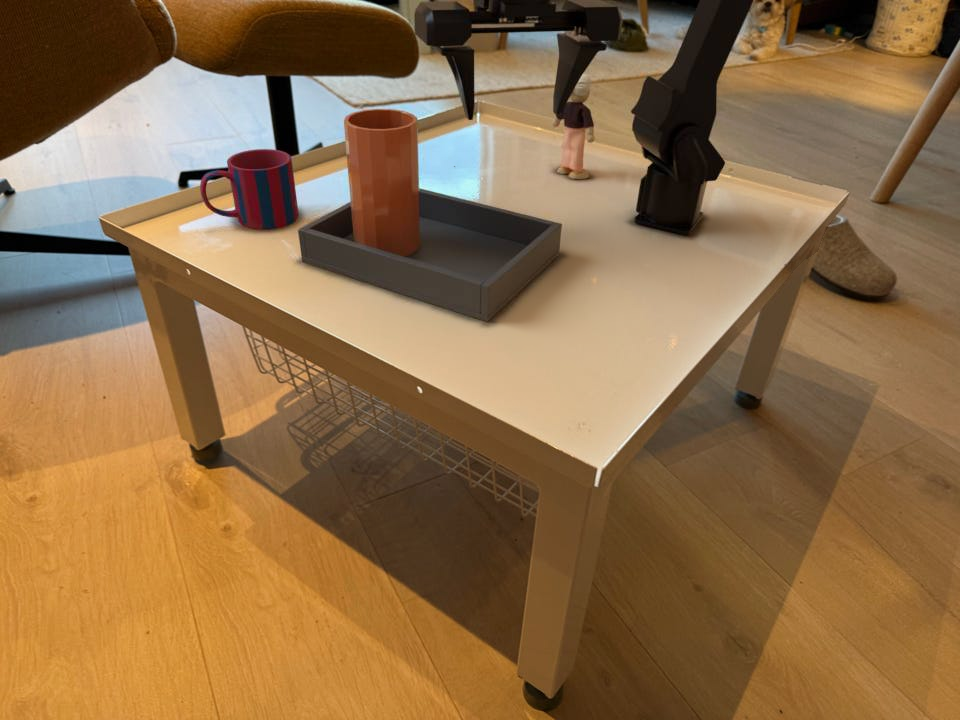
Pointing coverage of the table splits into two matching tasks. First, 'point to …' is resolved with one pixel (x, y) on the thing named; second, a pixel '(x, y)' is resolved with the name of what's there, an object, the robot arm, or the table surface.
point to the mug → (259, 189)
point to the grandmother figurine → (576, 130)
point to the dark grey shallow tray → (443, 254)
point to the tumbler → (384, 179)
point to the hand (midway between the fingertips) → (513, 116)
